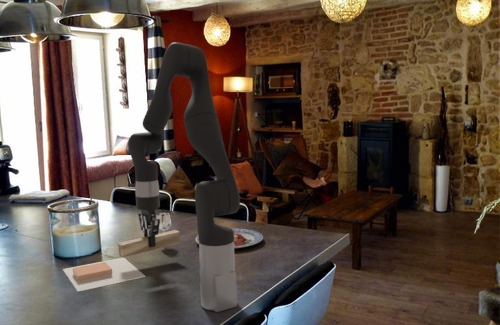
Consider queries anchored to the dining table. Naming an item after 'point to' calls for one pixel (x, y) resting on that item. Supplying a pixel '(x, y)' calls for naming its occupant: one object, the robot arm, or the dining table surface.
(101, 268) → the tile
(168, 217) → the wineglass
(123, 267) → the white panel
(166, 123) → the robot arm
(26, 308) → the dining table surface
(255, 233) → the ceramic plate
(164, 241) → the oak stick
